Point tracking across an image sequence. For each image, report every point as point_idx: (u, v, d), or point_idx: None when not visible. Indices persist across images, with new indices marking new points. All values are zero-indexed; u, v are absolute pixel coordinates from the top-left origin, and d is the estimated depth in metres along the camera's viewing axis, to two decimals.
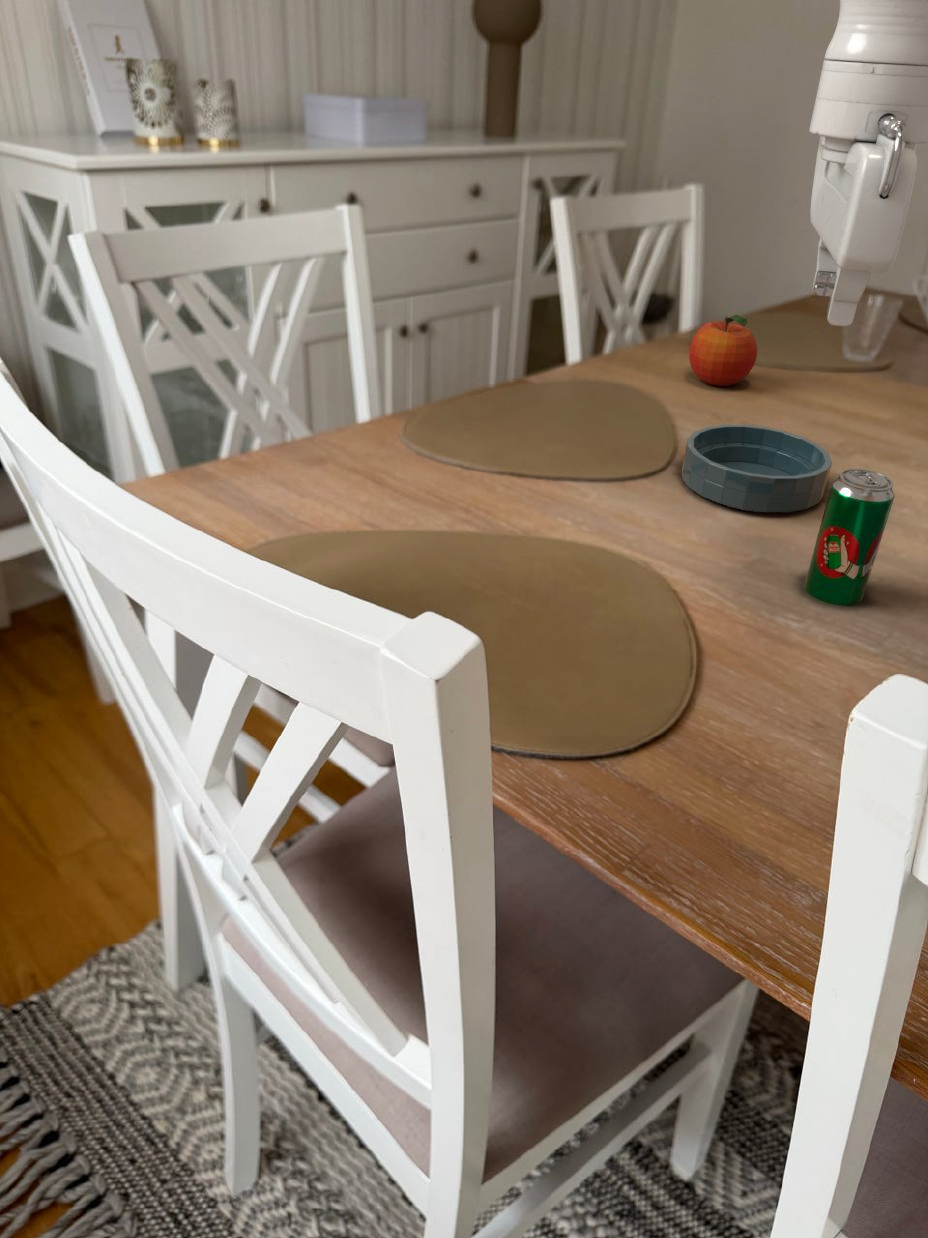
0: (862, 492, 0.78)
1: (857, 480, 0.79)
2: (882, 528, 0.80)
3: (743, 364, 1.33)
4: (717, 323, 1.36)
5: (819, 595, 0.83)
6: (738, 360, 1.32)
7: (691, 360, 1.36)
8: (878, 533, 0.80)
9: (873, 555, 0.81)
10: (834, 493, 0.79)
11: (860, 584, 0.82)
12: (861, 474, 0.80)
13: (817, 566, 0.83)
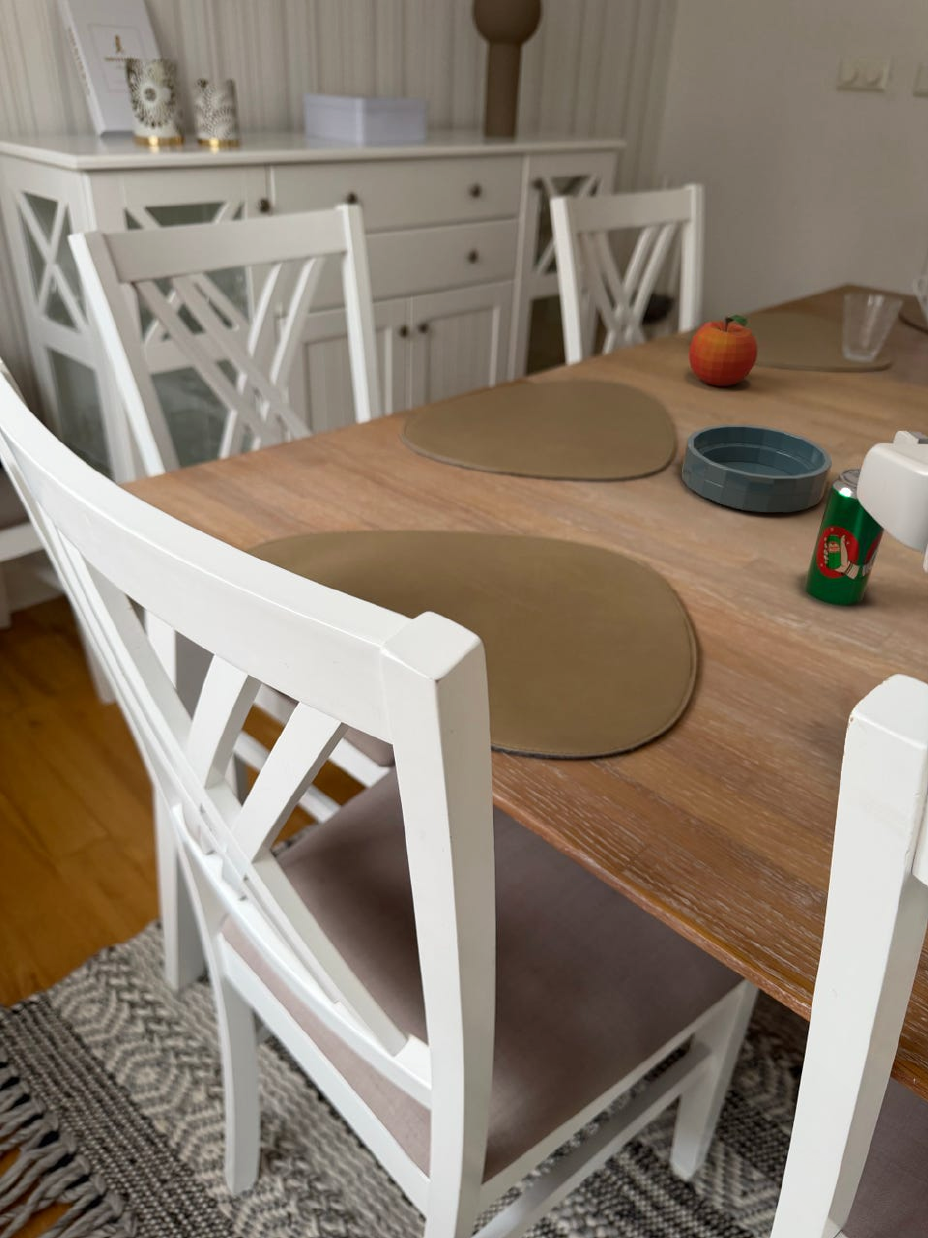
0: None
1: (857, 480, 0.79)
2: (882, 528, 0.80)
3: (743, 364, 1.33)
4: (717, 323, 1.36)
5: (819, 595, 0.83)
6: (737, 360, 1.32)
7: (691, 360, 1.36)
8: (878, 533, 0.80)
9: (873, 555, 0.81)
10: (834, 493, 0.79)
11: (860, 584, 0.82)
12: None
13: (817, 566, 0.83)
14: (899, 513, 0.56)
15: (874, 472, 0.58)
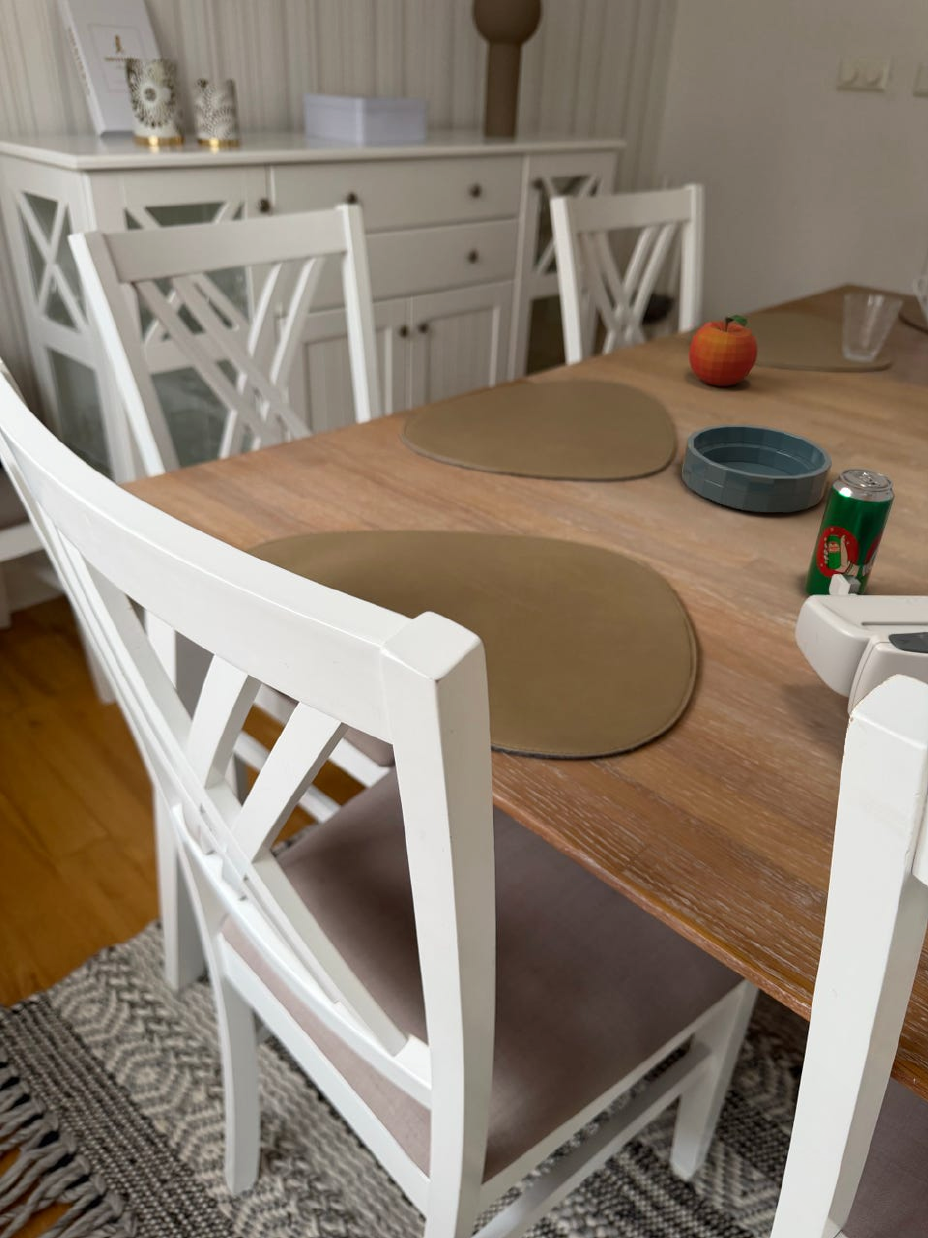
0: (862, 492, 0.78)
1: (857, 480, 0.79)
2: (882, 528, 0.80)
3: (743, 364, 1.33)
4: (717, 323, 1.36)
5: None
6: (738, 360, 1.32)
7: (691, 360, 1.36)
8: (878, 533, 0.80)
9: (873, 555, 0.81)
10: (834, 493, 0.79)
11: None
12: (861, 474, 0.80)
13: (817, 566, 0.83)
14: (827, 662, 0.65)
15: (808, 623, 0.67)
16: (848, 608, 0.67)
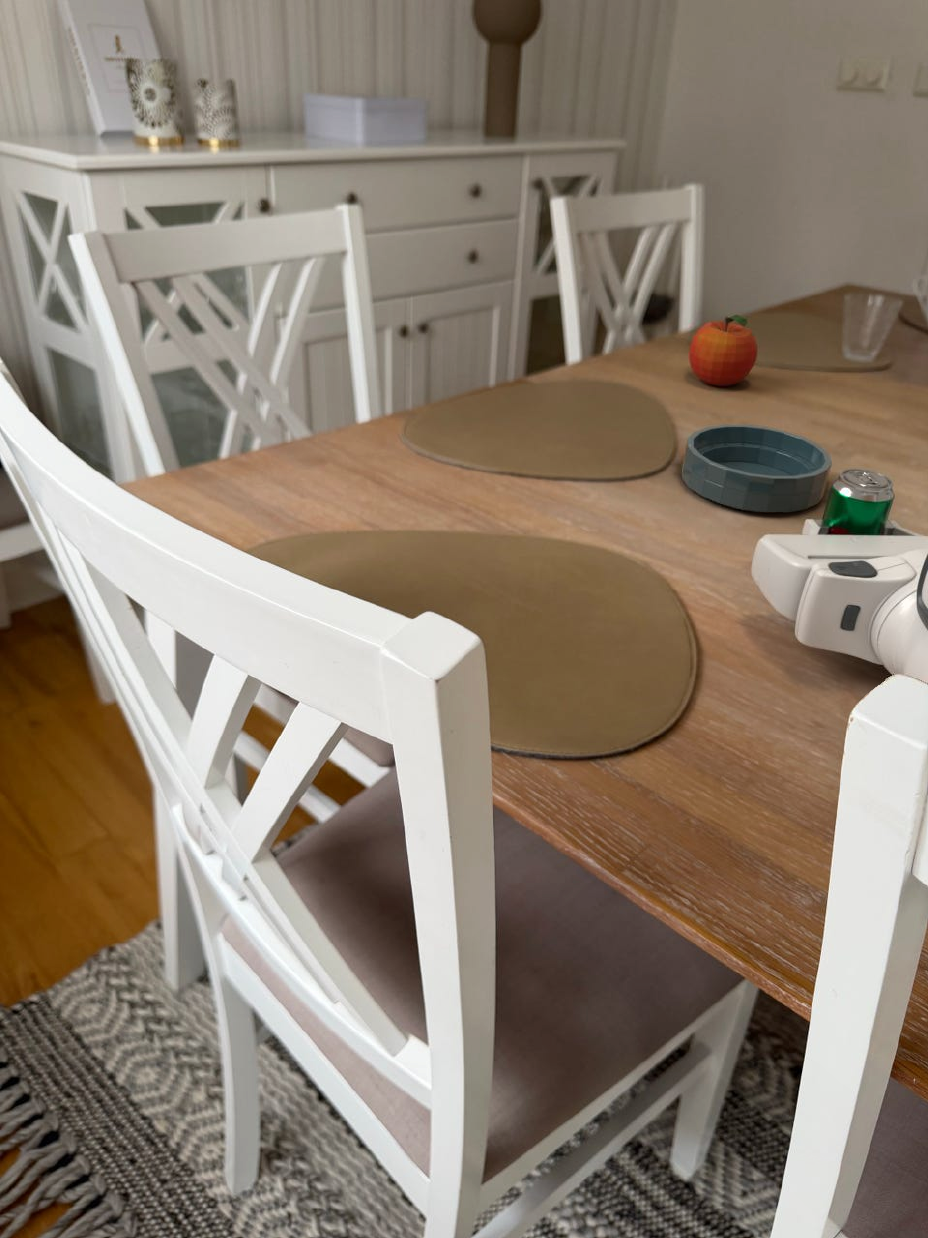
0: (862, 492, 0.78)
1: (857, 480, 0.79)
2: (882, 528, 0.80)
3: (743, 364, 1.33)
4: (717, 323, 1.36)
5: None
6: (738, 360, 1.32)
7: (691, 360, 1.36)
8: (878, 533, 0.80)
9: None
10: (835, 493, 0.79)
11: None
12: (861, 474, 0.80)
13: None
14: (777, 591, 0.74)
15: (761, 558, 0.76)
16: (797, 544, 0.75)
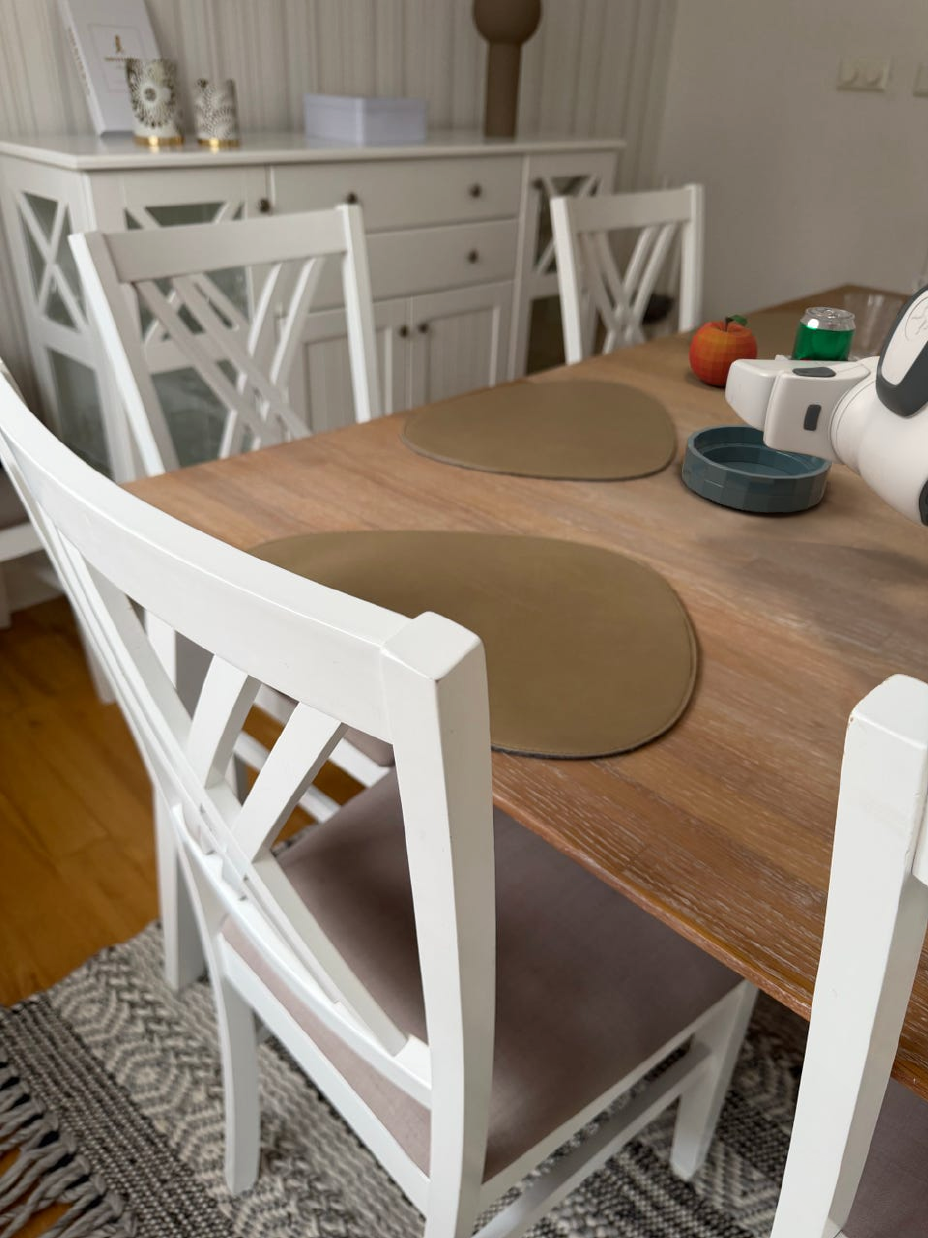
0: (826, 322, 0.85)
1: (822, 313, 0.86)
2: (845, 359, 0.87)
3: None
4: (717, 323, 1.36)
5: None
6: None
7: (691, 360, 1.36)
8: None
9: None
10: (801, 327, 0.87)
11: None
12: (826, 311, 0.88)
13: None
14: (747, 404, 0.81)
15: (733, 378, 0.83)
16: (766, 365, 0.83)
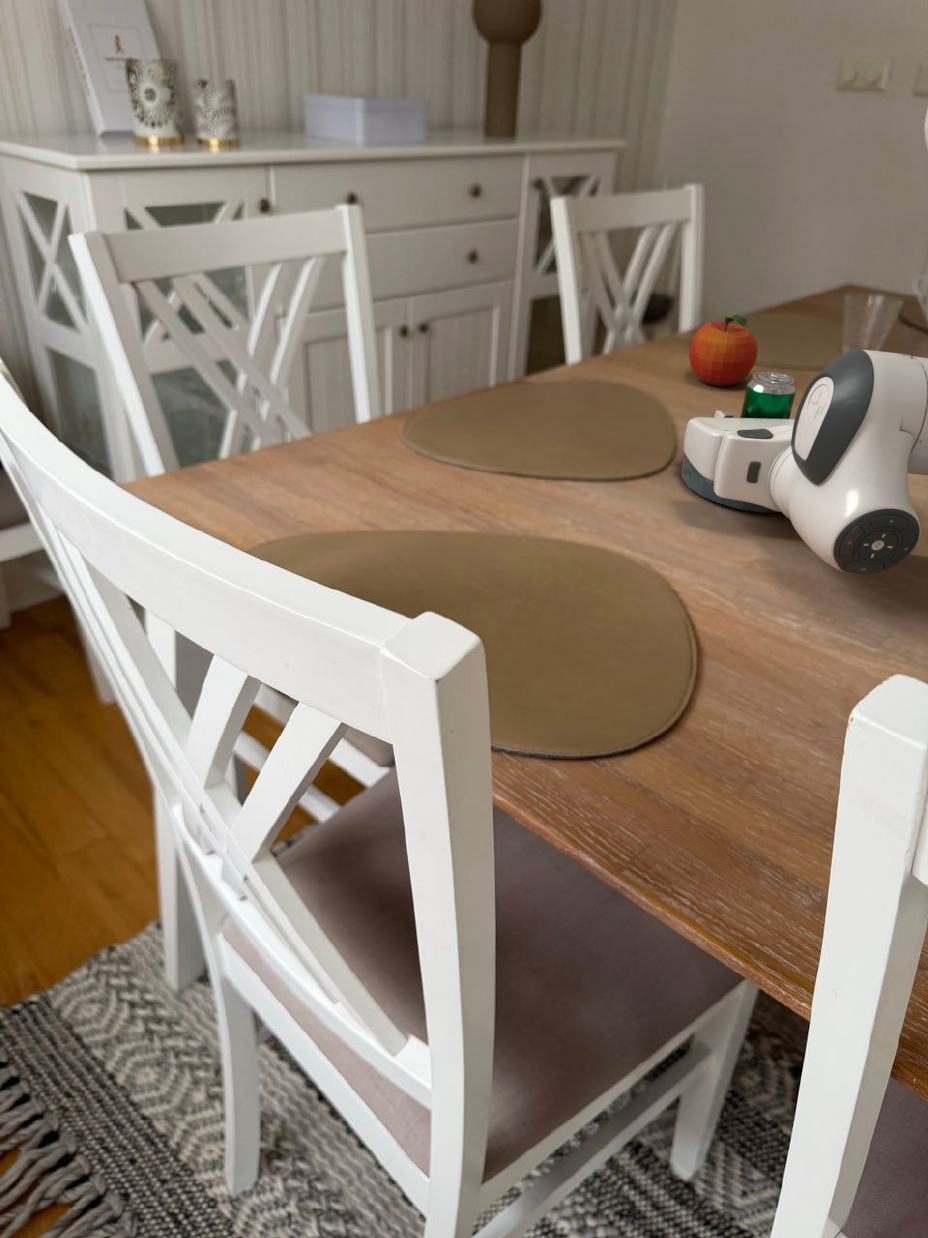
0: (769, 387, 0.98)
1: (766, 378, 0.99)
2: (787, 417, 1.00)
3: (743, 364, 1.33)
4: (717, 323, 1.36)
5: None
6: (738, 360, 1.32)
7: (691, 360, 1.36)
8: None
9: None
10: (749, 390, 1.00)
11: None
12: (770, 375, 1.01)
13: None
14: (701, 457, 0.94)
15: (690, 434, 0.96)
16: (717, 423, 0.96)
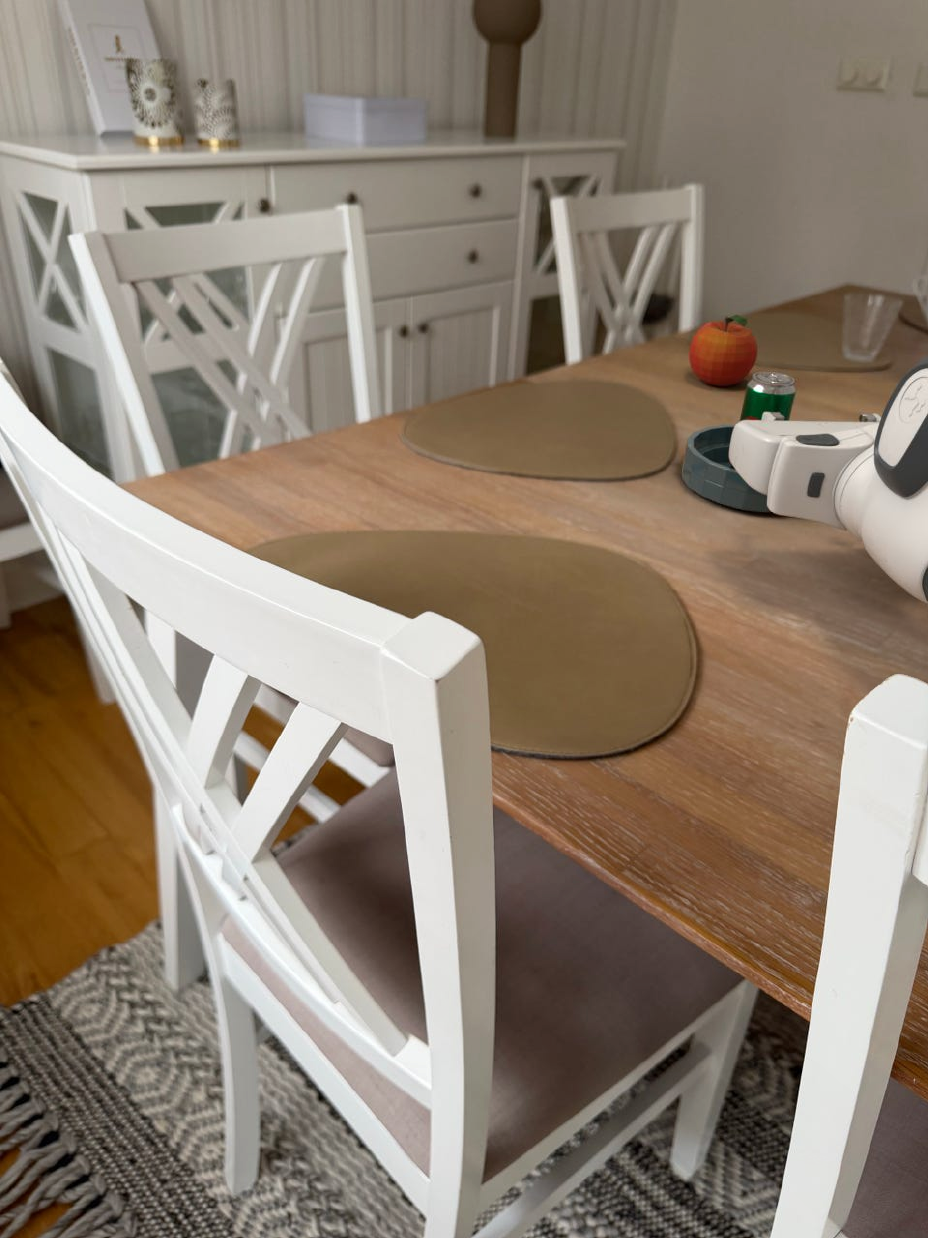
0: (769, 387, 0.98)
1: (766, 378, 0.99)
2: (787, 417, 1.00)
3: (743, 364, 1.33)
4: (717, 323, 1.36)
5: None
6: (738, 360, 1.32)
7: (691, 360, 1.36)
8: None
9: None
10: (749, 390, 1.00)
11: None
12: (770, 375, 1.01)
13: None
14: (751, 467, 0.81)
15: (737, 440, 0.83)
16: (769, 427, 0.83)
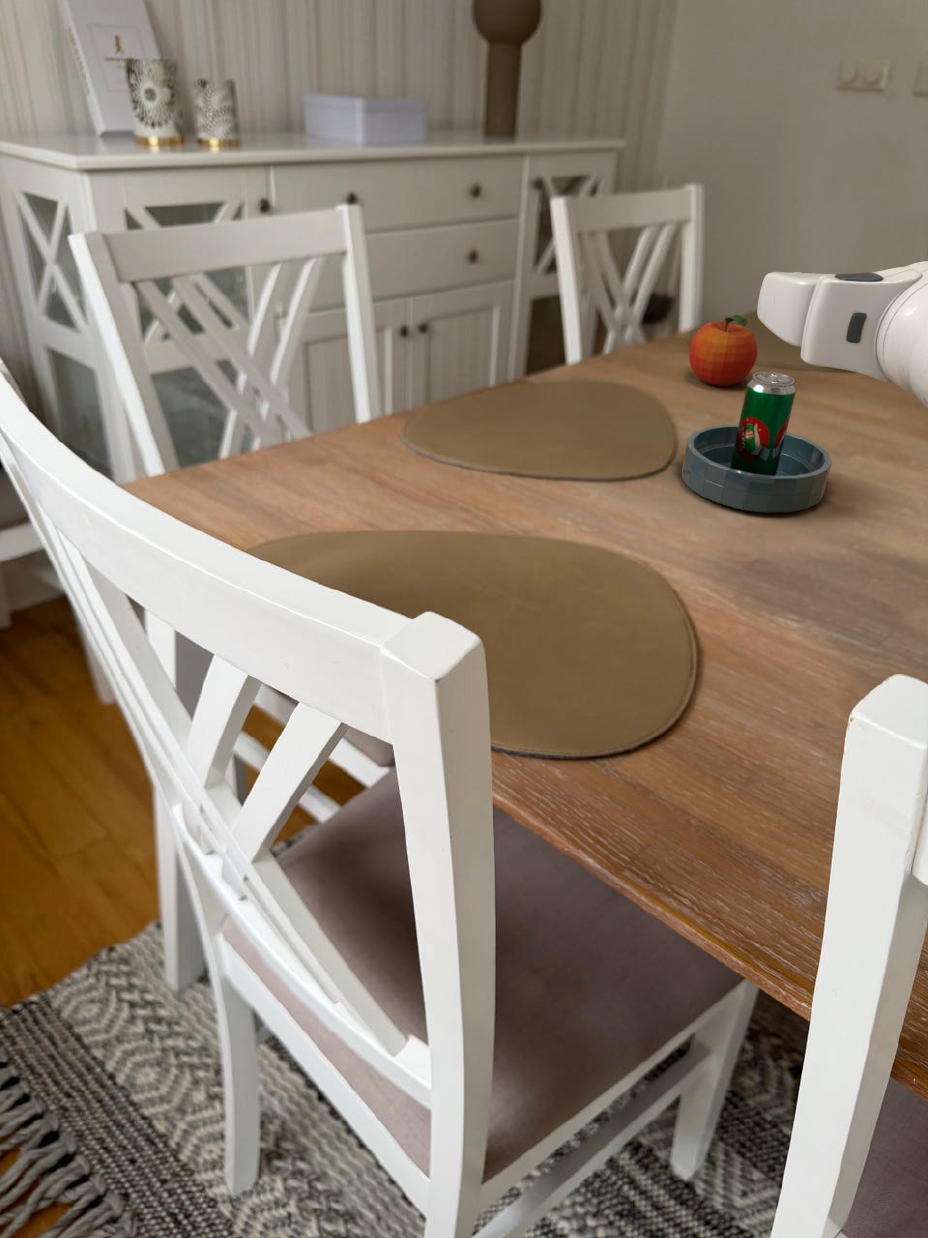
0: (769, 387, 0.98)
1: (766, 378, 0.99)
2: (787, 417, 1.00)
3: (743, 364, 1.33)
4: (717, 323, 1.36)
5: None
6: (738, 360, 1.32)
7: (691, 360, 1.36)
8: (784, 422, 1.00)
9: (781, 440, 1.01)
10: (749, 390, 1.00)
11: (771, 465, 1.03)
12: (770, 375, 1.01)
13: (737, 452, 1.03)
14: (783, 317, 0.74)
15: (767, 291, 0.76)
16: (803, 277, 0.76)
